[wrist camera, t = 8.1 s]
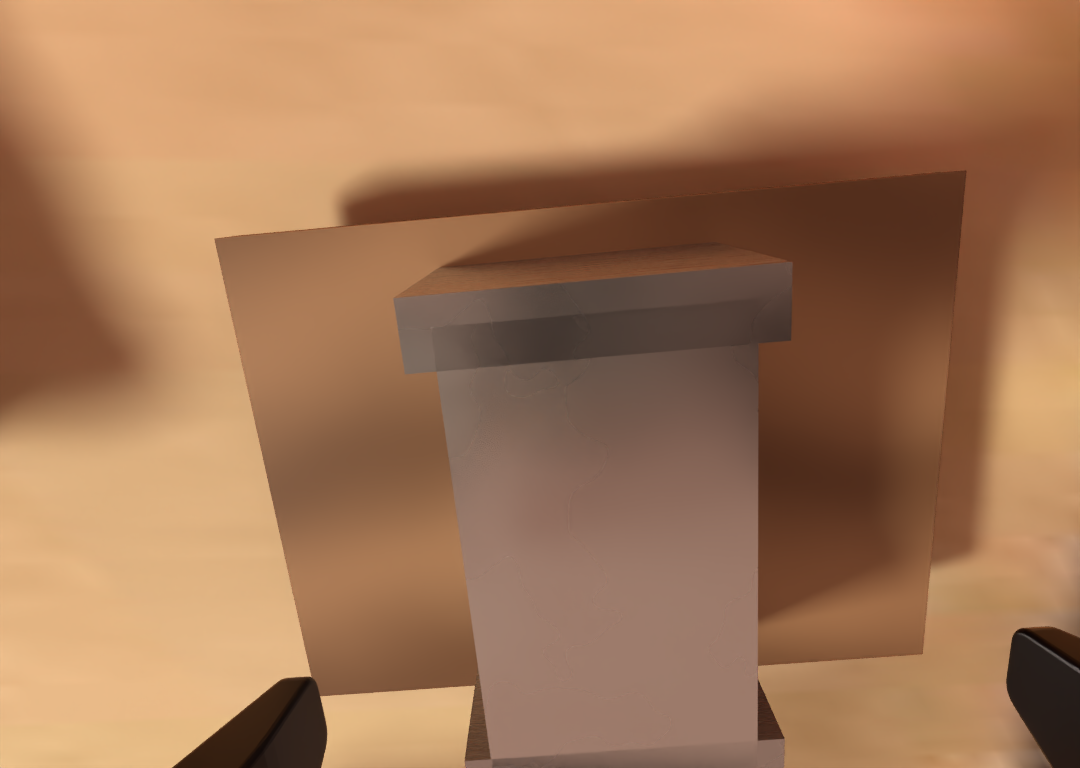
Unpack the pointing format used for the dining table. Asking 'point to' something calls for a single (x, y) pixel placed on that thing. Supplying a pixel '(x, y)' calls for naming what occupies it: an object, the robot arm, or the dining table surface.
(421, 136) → the dining table surface
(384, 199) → the dining table surface
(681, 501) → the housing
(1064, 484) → the dining table surface
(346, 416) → the stand
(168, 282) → the dining table surface
